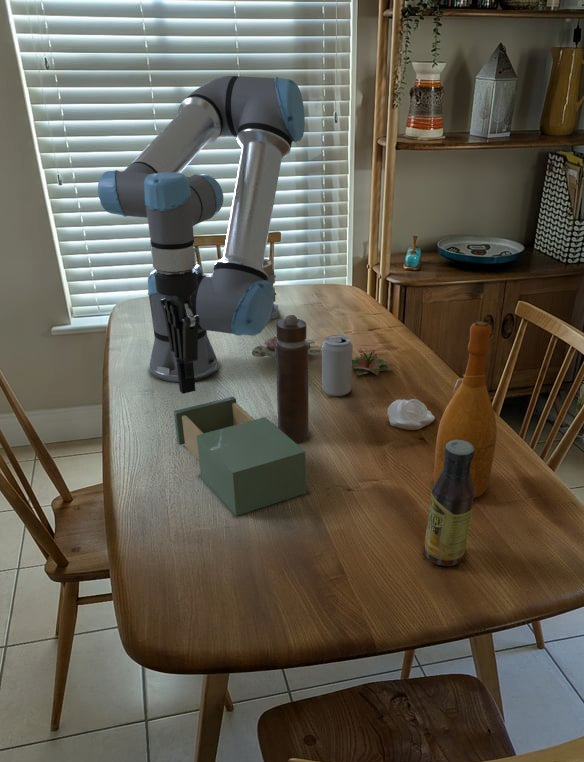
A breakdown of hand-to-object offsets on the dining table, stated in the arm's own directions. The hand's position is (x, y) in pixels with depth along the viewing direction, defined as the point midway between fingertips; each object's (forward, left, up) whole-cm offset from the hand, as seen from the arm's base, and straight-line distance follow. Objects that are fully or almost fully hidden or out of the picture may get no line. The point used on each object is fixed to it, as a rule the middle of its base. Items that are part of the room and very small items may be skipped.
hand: (187, 390), depth 143 cm
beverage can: (+2, +33, -7) cm, 34 cm away
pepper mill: (+15, +15, -7) cm, 22 cm away
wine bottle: (+46, +31, -7) cm, 56 cm away
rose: (+21, +39, -7) cm, 45 cm away
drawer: (+14, 0, -6) cm, 15 cm away
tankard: (-47, +38, -7) cm, 61 cm away
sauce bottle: (+60, +16, -7) cm, 63 cm away
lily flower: (-5, +46, -7) cm, 47 cm away
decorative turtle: (-21, +33, -7) cm, 40 cm away
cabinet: (+27, 0, -7) cm, 28 cm away
